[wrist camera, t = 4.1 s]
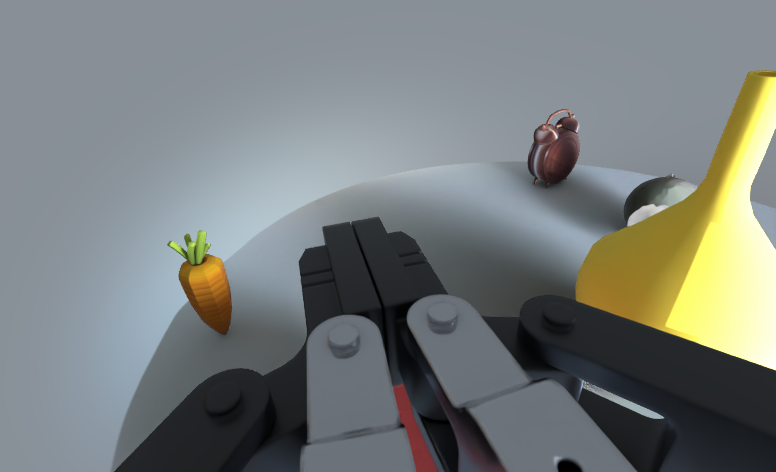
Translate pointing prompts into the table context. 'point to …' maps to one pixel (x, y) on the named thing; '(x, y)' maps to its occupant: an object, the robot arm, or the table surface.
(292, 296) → the table surface
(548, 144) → the alarm clock
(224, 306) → the carrot
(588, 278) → the vase
